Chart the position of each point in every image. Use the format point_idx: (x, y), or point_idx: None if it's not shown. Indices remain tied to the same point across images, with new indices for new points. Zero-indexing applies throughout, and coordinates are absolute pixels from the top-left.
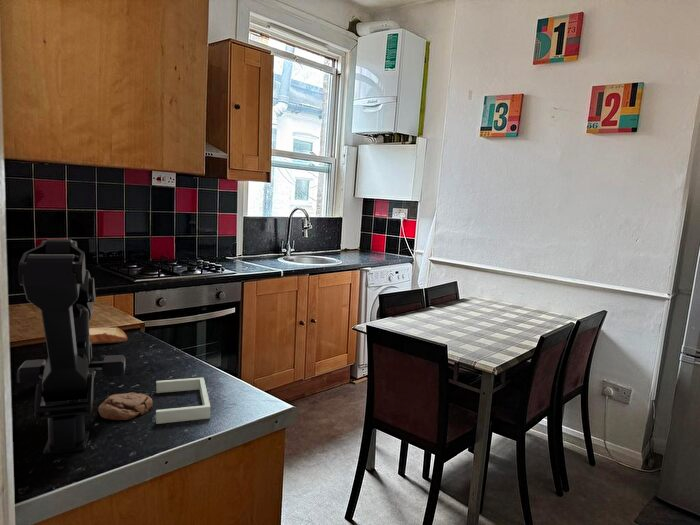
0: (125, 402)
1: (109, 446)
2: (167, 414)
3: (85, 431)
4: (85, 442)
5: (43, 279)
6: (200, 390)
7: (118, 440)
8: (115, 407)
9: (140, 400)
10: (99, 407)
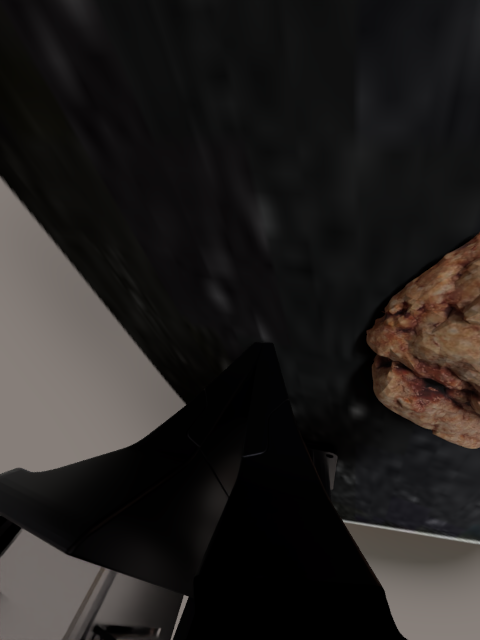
0: None
1: (385, 491)
2: None
3: (327, 452)
4: (332, 480)
5: None
6: None
7: (413, 486)
8: (471, 428)
9: None
10: (381, 397)
